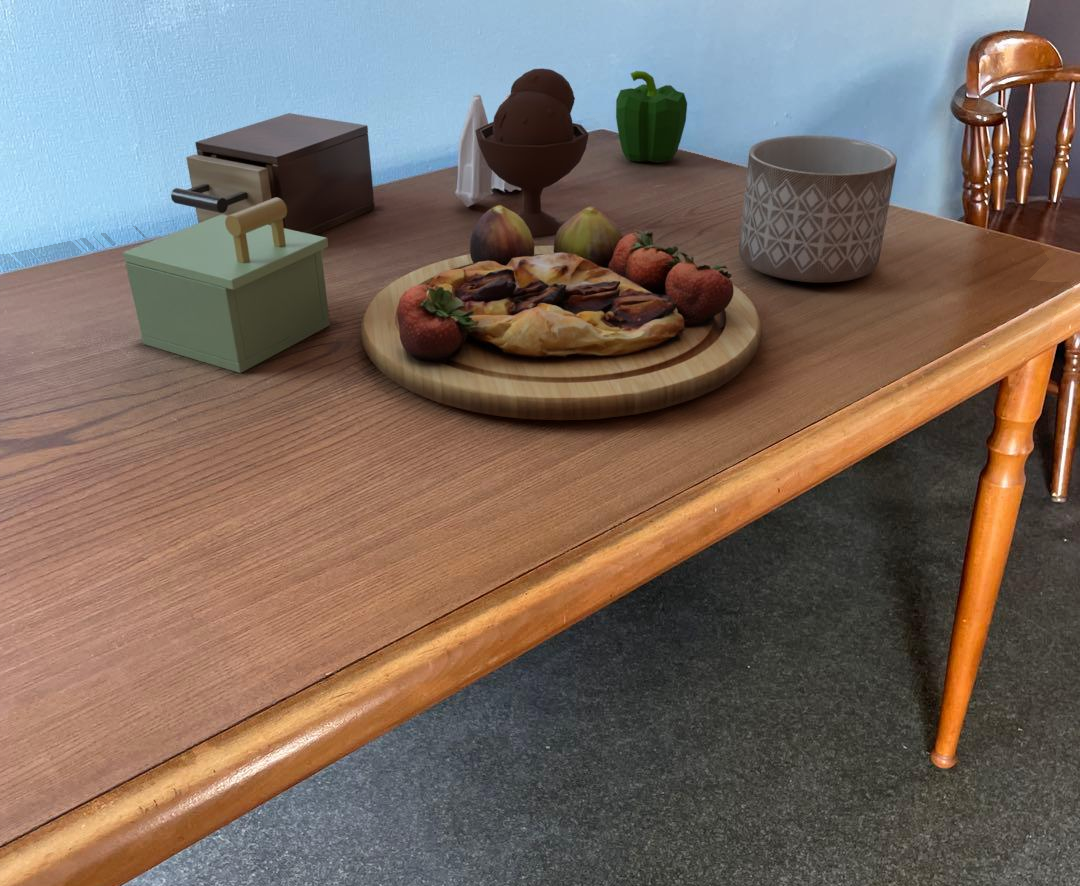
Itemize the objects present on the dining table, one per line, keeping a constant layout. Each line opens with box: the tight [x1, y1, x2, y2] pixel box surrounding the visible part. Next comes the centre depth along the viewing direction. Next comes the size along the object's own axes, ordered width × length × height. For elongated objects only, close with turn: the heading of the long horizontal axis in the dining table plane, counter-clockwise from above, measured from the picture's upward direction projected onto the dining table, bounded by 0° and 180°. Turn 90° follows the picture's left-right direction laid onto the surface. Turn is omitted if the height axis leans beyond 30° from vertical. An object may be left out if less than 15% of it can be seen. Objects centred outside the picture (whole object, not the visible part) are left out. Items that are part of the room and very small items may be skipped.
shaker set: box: [454, 93, 522, 208], centre depth 116 cm, size 12×4×11 cm, turn 152°
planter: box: [738, 134, 898, 284], centre depth 98 cm, size 13×13×10 cm
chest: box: [124, 250, 331, 374], centre depth 87 cm, size 11×11×7 cm
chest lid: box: [122, 197, 329, 290], centre depth 84 cm, size 11×11×4 cm
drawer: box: [170, 153, 277, 225], centre depth 108 cm, size 17×9×7 cm, turn 149°
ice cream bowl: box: [475, 68, 590, 238], centre depth 107 cm, size 11×11×15 cm
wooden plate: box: [360, 204, 762, 421], centre depth 86 cm, size 32×32×8 cm
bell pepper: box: [615, 70, 688, 163], centre depth 129 cm, size 8×8×10 cm
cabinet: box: [194, 112, 376, 236], centre depth 111 cm, size 14×11×9 cm
